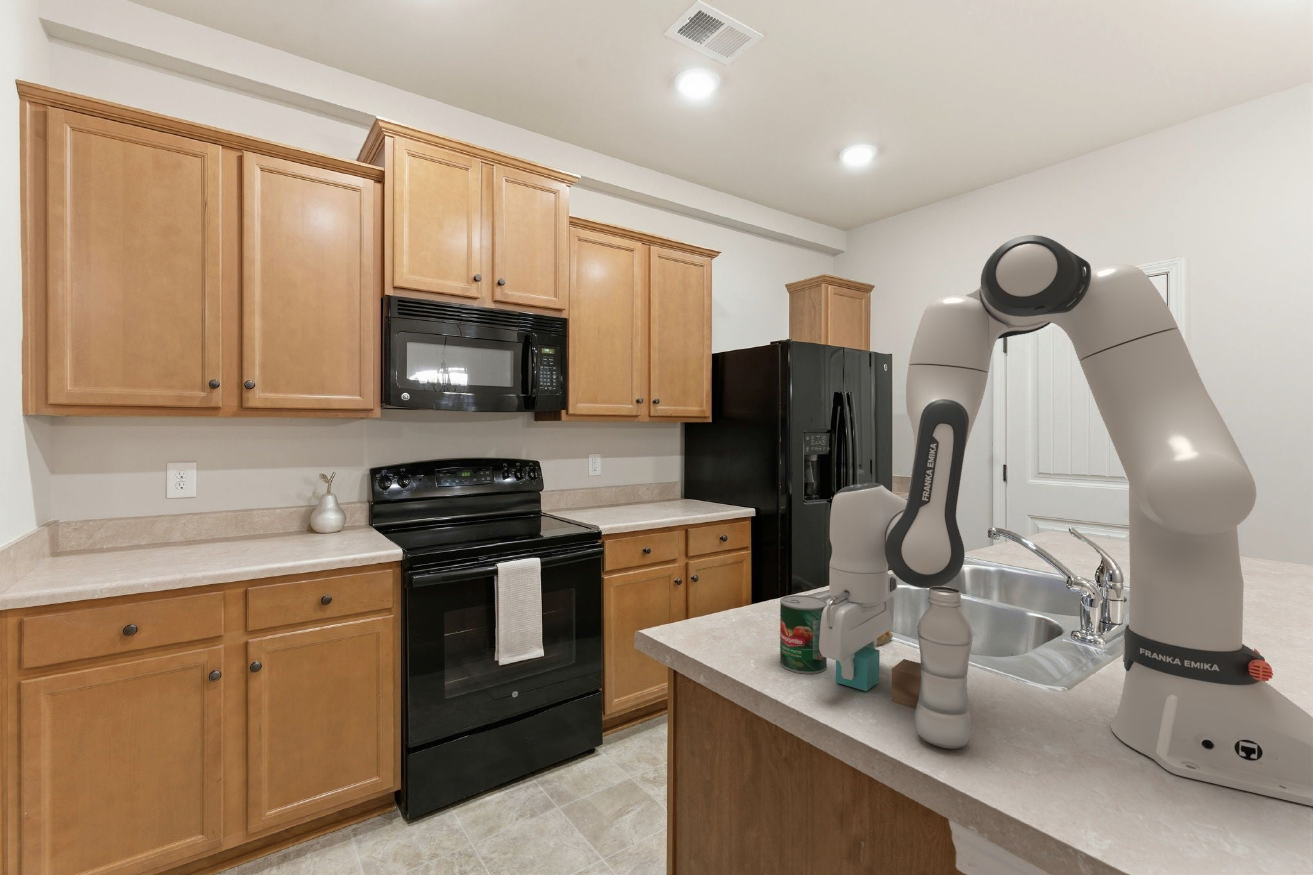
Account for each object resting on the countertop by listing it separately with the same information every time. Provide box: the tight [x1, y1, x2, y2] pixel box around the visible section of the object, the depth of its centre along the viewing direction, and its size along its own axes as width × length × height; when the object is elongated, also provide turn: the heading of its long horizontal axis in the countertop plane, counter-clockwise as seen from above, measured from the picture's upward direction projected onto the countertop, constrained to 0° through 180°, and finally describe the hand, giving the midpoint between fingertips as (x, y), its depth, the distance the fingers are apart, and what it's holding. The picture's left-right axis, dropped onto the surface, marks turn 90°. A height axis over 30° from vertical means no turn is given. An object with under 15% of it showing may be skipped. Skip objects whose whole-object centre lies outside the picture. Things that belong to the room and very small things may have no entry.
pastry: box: [876, 629, 893, 647], centre depth 116 cm, size 9×7×4 cm
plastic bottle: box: [914, 585, 974, 750], centre depth 79 cm, size 6×7×20 cm
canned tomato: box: [779, 594, 828, 675], centre depth 105 cm, size 8×8×11 cm
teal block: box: [835, 647, 880, 692], centre depth 97 cm, size 5×5×5 cm
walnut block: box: [890, 658, 921, 709], centre depth 91 cm, size 5×5×5 cm
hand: (857, 671), depth 97 cm, fingers closed on teal block, 5 cm apart
